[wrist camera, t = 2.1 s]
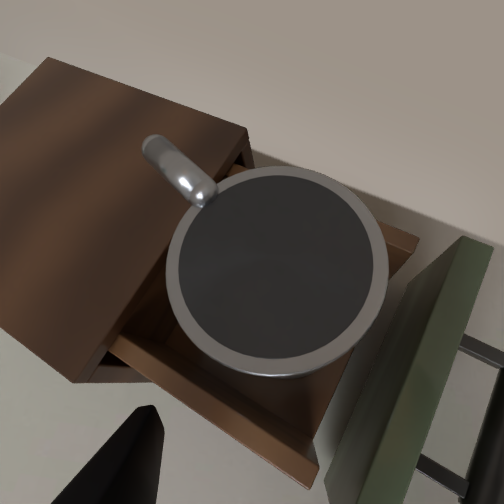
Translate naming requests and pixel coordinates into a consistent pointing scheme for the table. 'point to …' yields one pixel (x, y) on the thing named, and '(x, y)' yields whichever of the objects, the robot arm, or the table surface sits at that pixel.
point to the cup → (271, 265)
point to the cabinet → (91, 210)
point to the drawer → (327, 378)
